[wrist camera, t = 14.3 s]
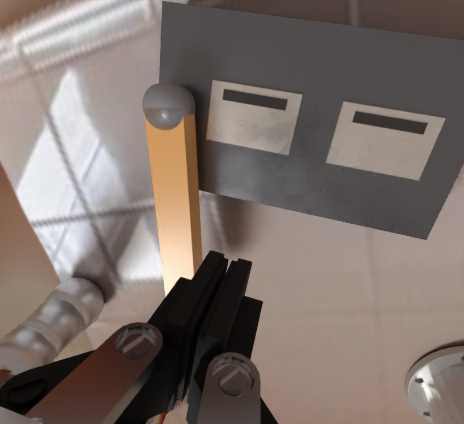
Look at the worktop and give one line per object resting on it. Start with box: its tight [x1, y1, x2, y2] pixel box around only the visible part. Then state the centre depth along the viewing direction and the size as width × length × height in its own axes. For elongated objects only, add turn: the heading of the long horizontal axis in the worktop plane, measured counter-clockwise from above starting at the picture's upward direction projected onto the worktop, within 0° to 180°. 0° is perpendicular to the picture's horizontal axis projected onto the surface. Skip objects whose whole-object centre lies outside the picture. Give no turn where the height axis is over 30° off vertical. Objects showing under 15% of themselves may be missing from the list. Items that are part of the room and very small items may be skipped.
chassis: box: [159, 1, 464, 240], centre depth 24 cm, size 24×14×5 cm, turn 81°
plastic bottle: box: [0, 278, 104, 375], centre depth 31 cm, size 6×7×20 cm
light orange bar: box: [142, 83, 202, 296], centre depth 25 cm, size 22×3×2 cm, turn 0°
